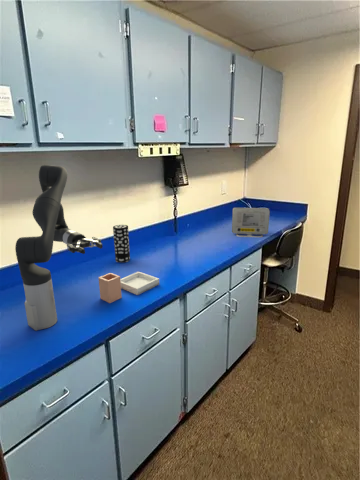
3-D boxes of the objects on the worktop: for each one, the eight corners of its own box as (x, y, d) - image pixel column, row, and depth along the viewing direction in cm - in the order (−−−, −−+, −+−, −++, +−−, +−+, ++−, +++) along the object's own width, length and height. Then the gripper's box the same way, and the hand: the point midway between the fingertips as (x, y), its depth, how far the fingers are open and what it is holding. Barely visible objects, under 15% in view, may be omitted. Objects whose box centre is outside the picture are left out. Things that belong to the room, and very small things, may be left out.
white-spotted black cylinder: (112, 260, 177) (110, 226, 171) (124, 256, 183) (122, 224, 177) (120, 263, 171) (118, 229, 165) (133, 260, 177) (131, 226, 171)
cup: (109, 303, 128) (108, 281, 125) (100, 298, 132) (98, 277, 129) (121, 297, 133) (120, 276, 130) (112, 293, 137) (110, 272, 134)
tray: (137, 295, 135) (137, 288, 134) (116, 286, 143) (116, 280, 142) (159, 284, 145) (159, 278, 144) (138, 277, 154) (138, 271, 153)
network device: (266, 234, 226) (268, 207, 220) (268, 237, 217) (270, 210, 212) (231, 233, 229) (232, 207, 223) (231, 236, 221) (232, 209, 215)
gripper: (58, 235, 137) (77, 245, 126) (87, 228, 147) (106, 236, 136) (60, 251, 140) (79, 261, 129) (88, 243, 149) (107, 252, 139)
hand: (93, 249), depth 133 cm, fingers open, 8 cm apart
